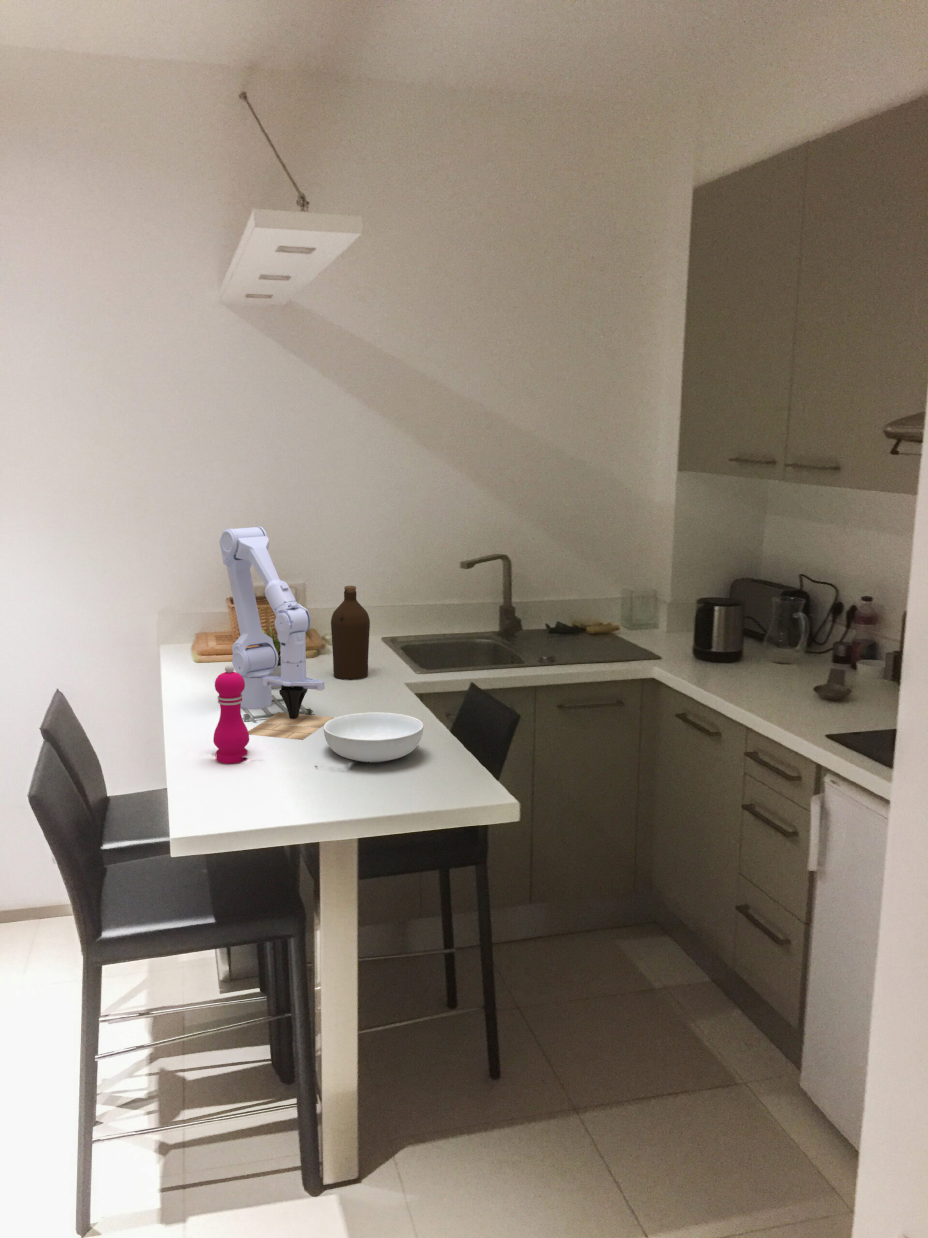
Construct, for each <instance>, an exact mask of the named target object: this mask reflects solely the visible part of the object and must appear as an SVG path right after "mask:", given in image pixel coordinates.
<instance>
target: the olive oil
mask: <svg viewBox="0 0 928 1238" xmlns="http://www.w3.org/2000/svg"><path fill="white" fill-rule="evenodd" d="M343 588H344V591H343V601H342V602H341V603H340V605H339V606H337V608H335V610H334V611H333V613H332V615H331V619H330V630H331V632H330V633H331V646H332V647H331V648H332V669H333V671H332V672H333V678H335V679H338V678H339V680H344V679H349V681H351V680H350V679H356V680H361V678H362V679H364V678H365V679H366V678H367V677H368V676H369V648H370V631H371V630H370V628H371V620H370V615H369V614H368V612H367V610H366V609H365V608H364V607H363V605H361V604H360V602H359V601H358V599H357V591H356V590H357V586H356V585H345V586H344V587H343Z"/></svg>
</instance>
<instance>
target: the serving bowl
mask: <svg viewBox="0 0 928 1238" xmlns="http://www.w3.org/2000/svg"><path fill="white" fill-rule="evenodd" d="M424 727H425V726H424V723H423V722H422V721H421V720H420V719H418V718H416V717H414V716H410V715H407V714H401V713H394V712H383V711H381V712H378V711H377V712H376V711H374V712H360V713H359V712H358V713H351V714H344V715H341V716H336V717H334V719H331V720H329V721H328V722H326V723H325V724H324V726H323V733H324V738H325V741H326V744H327V745H328V746H329V747H330V749H331V750H332V751H333V752H334V753H335V754H337V755H339V756H341V757H343V758H345V759H348V760H353V761H357V762H362V763H368V762H369V763H368V764H370V763H374V764H375V763H377V764H378V763H385V762H389V761H393V760H396V759H400V758H402V757H405V756H407V755H408V754H410V753H411V752H413V751H414V750H415V749H416V748H417V746H418V745H419V744H420V742H421V740H422V736H423V733H424Z"/></svg>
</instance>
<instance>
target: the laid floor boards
mask: <svg viewBox="0 0 928 1238" xmlns="http://www.w3.org/2000/svg"><path fill="white" fill-rule="evenodd" d="M319 729H320V728H314V727H304V726H294V725H284V724H274V723H263V722H261V723H260V724H257V725H256V726H254V727H252V728H251V729H250V730H248V733H249V736H250V735H252V736H258V737H259V736H261V737H272V738H280V739H290V740H298V741H299V740H301V741H303V740H305V739H307V738H308V737H309V736H310V735H312V734H314V733H315V732H317V731H318V730H319Z"/></svg>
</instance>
